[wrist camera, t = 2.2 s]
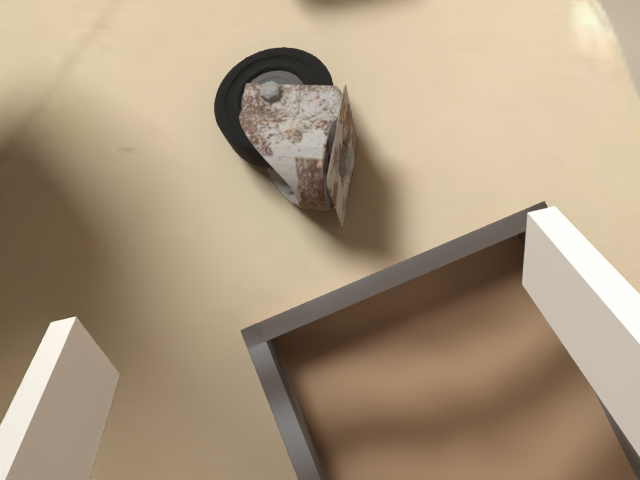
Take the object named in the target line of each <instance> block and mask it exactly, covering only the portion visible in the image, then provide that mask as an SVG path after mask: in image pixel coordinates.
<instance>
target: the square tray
mask: <svg viewBox="0 0 640 480" xmlns="http://www.w3.org/2000/svg"><path fill="white" fill-rule="evenodd" d="M545 208H548V207H547V205H546V203H545V201H543V202H541V203H539V204H536V205H534V206H532V207H529V208H527V209H525V210H522V211H520V212H518V213H515V214H513V215H510V216H508V217H506V218H503V219H501V220H499V221H496V222H494V223H492V224H489V225H487V226H485V227H482V228H480V229H478V230H475V231H473V232H471V233H468V234H466V235H463V236H461V237H459V238H456V239H454V240H452V241H449V242H447V243H445V244H442V245H440V246H438V247H435V248H433V249H431V250H428V251H426V252H424V253H421V254H419V255H417V256H414V257H412V258H409V259H407V260H405V261H402V262H400V263H398V264H395V265H393V266H391V267H388V268H386V269H384V270H381V271H379V272H377V273H374V274H372V275H370V276H367V277H365V278H362V279H360V280H358V281H355V282H353V283H351V284H348V285H346V286H344V287H341V288H339V289H337V290H334V291H332V292H330V293H327V294H325V295H323V296H320V297H318V298H315V299H313V300H311V301H308V302H306V303H304V304H301V305H299V306H297V307H294V308H292V309H290V310H287V311H285V312H283V313H280V314H278V315H276V316H273V317H271V318H269V319H266V320H264V321H261V322H259V323H257V324H254V325H252V326H250V327H247V328H245V329H243V330H241V333H242V336H243V338H244V341H245V343H246V346H247V348H248V351H249V353H250V356H251V359H252V361H253V364H254V366H255V369H256V371H257V374H258V377H259V379H260V382H261V384H262V387H263V389H264V392H265V395H266V397H267V400H268V402H269V405H270V407H271V410H272V413H273V415H274V418H275V420H276V423H277V425H278V428H279V431H280V433H281V436H282V438H283V441H284V443H285V446H286V449H287V451H288V454H289V456H290V459H291V461H292V464H293V467H294V469H295V472H296V474H297V477H298V479H299V480H640V456H639V455H638V454H637V452H636V451H635V449H634V448H633V446H632V445H631V443H630V442H629V440H628V439H627V437H626V436H625V434H624V433H623V432H622V430H621V429H620V427H619V426H618V424H617V423H616V421H615V420H614V418H613V417H612V415H611V414H610V412H609V411H608V410H607V408H606V407H605V405H604V404H603V402H602V401H601V399H600V398H599V396H598V395H597V393H596V392H595V390H594V389H593V388H592V386H591V385H590V383H589V382H588V380H587V379H586V377H585V376H584V374H583V373H582V371H581V370H580V368H579V367H578V366H577V364H576V363H575V361H574V360H573V358H572V357H571V355H570V354H569V352H568V351H567V349H566V348H565V346H564V345H563V344H562V342H561V341H560V339H559V338H558V336H557V335H556V333H555V332H554V330H553V329H552V327H551V326H550V325H549V323H548V322H547V320H546V319H545V317H544V316H543V314H542V313H541V311H540V310H539V308H538V307H537V305H536V304H535V303H534V301H533V300H532V298H531V297H530V295H529V294H528V292H527V291H526V289H525V288H524V286H523V285H522V278H523V264H524V251H525V238H526V225H527V213H528V212H532V211H537V210H541V209H545Z"/></svg>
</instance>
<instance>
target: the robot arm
mask: <svg viewBox="0 0 640 480" xmlns="http://www.w3.org/2000/svg"><path fill="white" fill-rule="evenodd" d="M522 285H523V286H524V288H525V289H526V291H527V292H528V294H529V295H530V297H531V298H532V300H533V301H534V303H535V304H536V305H537V307H538V308H539V310H540V311H541V313H542V314H543V316H544V317H545V319H546V320H547V322H548V323H549V325H550V326H551V327H552V329H553V330H554V332H555V333H556V335H557V336H558V338H559V339H560V341H561V342H562V344H563V345H564V346H565V348H566V349H567V351H568V352H569V354H570V355H571V357H572V358H573V360H574V361H575V363H576V364H577V366H578V367H579V368H580V370H581V371H582V373H583V374H584V376H585V377H586V379H587V380H588V382H589V383H590V385H591V386H592V388H593V389H594V390H595V392H596V393H597V395H598V396H599V398H600V399H601V401H602V402H603V404H604V405H605V407H606V408H607V410H608V411H609V412H610V414H611V415H612V417H613V418H614V420H615V421H616V423H617V424H618V426H619V427H620V429H621V430H622V432H623V433H624V434H625V436H626V437H627V439H628V440H629V442H630V443H631V445H632V446H633V448H634V449H635V451H636V452H637V454H638V455H639V456H640V294H639V293H638V292H637V291H636V290H635V289H634V288H633V287H632V286H631V285H630V284H629V283H628V282H627V281H626V280H625V279H624V278H623V277H622V276H621V275H620V274H619V273H618V272H617V270H616V269H615V268H614V267H613V266H612V265H611V264H610V263H609V262H608V261H607V260H606V259H605V258H604V257H603V256H602V255H601V254H600V253H599V252H598V251H597V250H596V249H595V248H594V247H593V245H592V244H591V243H590V242H589V241H588V240H587V239H586V238H585V237H584V236H583V235H582V234H581V233H580V232H579V231H578V230H577V229H576V228H575V227H574V226H573V225H572V224H571V223H570V222H569V221H568V219H567V218H566V217H565V216H564V215H563V214H562V213H561V212H560V211H559V210H558V209H557V208H556V207H555V206H554V207H550V208H545V209H541V210H537V211H532V212H528V213H527V225H526V238H525V251H524V264H523V278H522ZM119 376H120V374H119V372H118V371H117V370H116V368H115V367H114V366H113V364H112V363H111V362H110V360H109V359H108V358H107V356H106V355H105V354H104V352H103V351H102V350H101V348H100V347H99V346H98V345H97V343H96V342H95V341H94V339H93V338H92V337H91V335H90V334H89V333H88V331H87V330H86V329H85V327H84V326H83V325H82V323H81V322H80V321H79V319H78V318H77V317H72V318H67V319H63V320H59V321H54V322H51V323H50V325H49V327H48V329H47V331H46V333H45V335H44V337H43V339H42V342H41V344H40V346H39V348H38V350H37V352H36V354H35V356H34V358H33V360H32V362H31V364H30V366H29V368H28V370H27V372H26V374H25V376H24V378H23V380H22V382H21V384H20V387H19V389H18V391H17V393H16V395H15V397H14V399H13V401H12V403H11V405H10V407H9V409H8V411H7V413H6V415H5V417H4V419H3V421H2V423H1V425H0V480H90V476H91V473H92V469H93V466H94V463H95V459H96V456H97V452H98V449H99V445H100V442H101V438H102V435H103V432H104V428H105V425H106V421H107V418H108V414H109V411H110V407H111V404H112V401H113V397H114V394H115V390H116V387H117V383H118V380H119Z"/></svg>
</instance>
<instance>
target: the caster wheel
mask: <svg viewBox="0 0 640 480" xmlns="http://www.w3.org/2000/svg"><path fill="white" fill-rule="evenodd" d="M214 113H215V118H216V122H217V124H218V126H219V128H220V130H221V132H222V133H223V135H224V136H225V138H226V139H227V141H228V142H229V144H230V145H231V146H232V148H233V149H234V151H235V152H236V153H237V154H238V155H239V156H240V157H241V158H243V159H245V160H246V161H248V162H250V163H252V164H255V165H258V166H262V167H266V169H267V171H268V173H269V175H270V177H271V179H272V181H273V182H274V184H275V185H276V187H277V188H278V189H279V191H280V192H281V193H282V194H283V195H284V196H285V197H286V198H287V199H288V200H289V201H291V202H292V203H293V204H295V205H297V206H298V207H300V208H303V209H314V210H325V211H331V210H333V209H334V207H335V210H336V212H337V215H338V218H339V221H340V224H341V226H342V227H343V224H344V219H345V213H346V207H347V201H348V195H349V189H350V183H351V177H352V171H353V168H354V161H355V154H356V147H357V141H356V135H355V130H354V125H353V120H352V114H351V109H350V104H349V99H348V93H347V88H346V85H345V87H344V90H343V94H342V93H341V92H340V90H339V89H338V87H337V86H333V82H332V78H331V75H330V73H329V71H328V70H327V68H326V66H325V65H324V64H323V63H322V62H321V61H320V60H319V59H318V58H317V57H315V56H313V55H312V54H310V53H307V52H305V51H303V50H299V49H295V48H285V47H283V48H272V49H267V50H264V51H260V52H258V53H255V54H253V55H251V56H249V57H247V58H245V59H244V60H242V61H241V62H240V63H238V64H237V65H236V66H235V67H233V68H232V69H231V70H230V72H229V73H228V74H227V75H226V76H225V78H224V79H223V81H222V82H221V84H220V86H219V88H218V91H217V94H216V98H215V103H214Z"/></svg>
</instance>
